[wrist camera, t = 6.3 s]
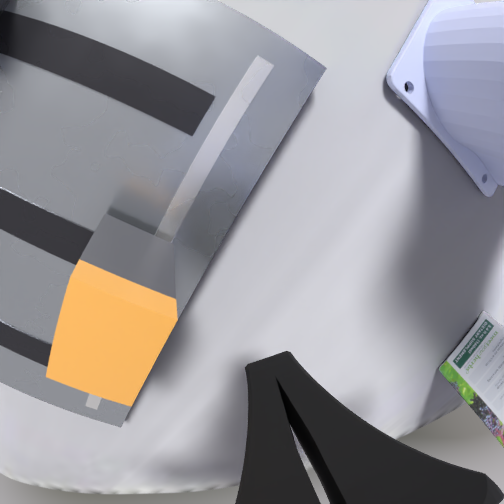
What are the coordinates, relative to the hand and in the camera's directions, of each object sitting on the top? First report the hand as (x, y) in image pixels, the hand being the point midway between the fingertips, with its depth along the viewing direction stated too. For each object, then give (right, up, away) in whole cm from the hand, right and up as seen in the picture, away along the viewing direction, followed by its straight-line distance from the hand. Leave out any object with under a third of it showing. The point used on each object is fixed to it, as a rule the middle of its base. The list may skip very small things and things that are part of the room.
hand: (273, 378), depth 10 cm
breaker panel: (-9, +6, 0) cm, 11 cm away
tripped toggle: (-5, +3, 0) cm, 6 cm away
